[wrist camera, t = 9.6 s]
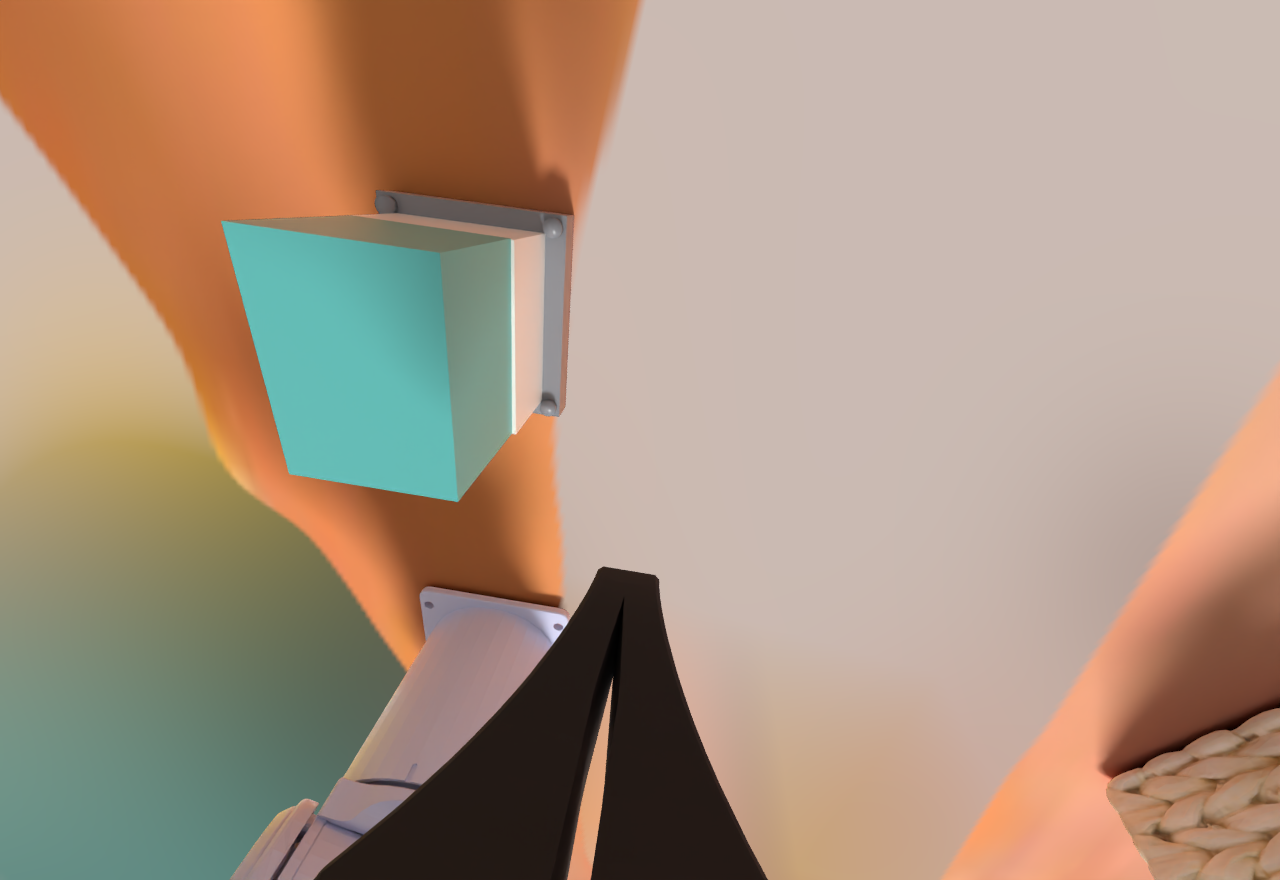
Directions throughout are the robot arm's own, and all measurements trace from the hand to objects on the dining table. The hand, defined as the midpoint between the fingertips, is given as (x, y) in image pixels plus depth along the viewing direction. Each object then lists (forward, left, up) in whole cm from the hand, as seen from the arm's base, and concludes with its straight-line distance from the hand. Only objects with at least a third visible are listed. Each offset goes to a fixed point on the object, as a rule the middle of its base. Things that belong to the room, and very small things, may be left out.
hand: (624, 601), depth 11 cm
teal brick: (+4, +7, -5) cm, 10 cm away
